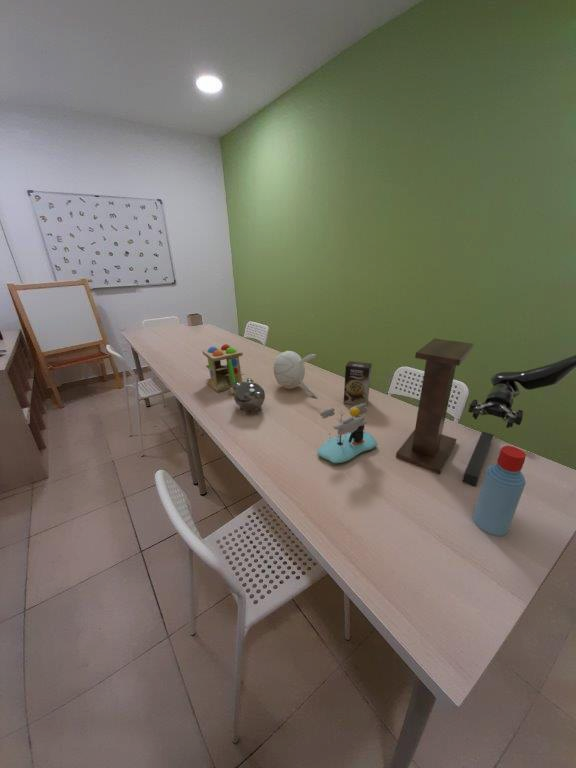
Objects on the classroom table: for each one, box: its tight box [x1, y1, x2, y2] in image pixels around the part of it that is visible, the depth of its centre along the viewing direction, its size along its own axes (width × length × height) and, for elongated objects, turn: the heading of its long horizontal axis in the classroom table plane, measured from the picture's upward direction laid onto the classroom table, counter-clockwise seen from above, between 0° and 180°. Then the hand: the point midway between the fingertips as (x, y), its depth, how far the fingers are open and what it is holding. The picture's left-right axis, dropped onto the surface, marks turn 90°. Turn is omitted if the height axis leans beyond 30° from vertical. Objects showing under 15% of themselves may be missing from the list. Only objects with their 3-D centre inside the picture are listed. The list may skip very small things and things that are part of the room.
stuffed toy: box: [273, 350, 318, 399], centre depth 130 cm, size 19×14×25 cm
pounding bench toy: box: [202, 344, 247, 396], centre depth 135 cm, size 23×14×18 cm, turn 32°
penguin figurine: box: [317, 403, 378, 464], centre depth 89 cm, size 20×11×15 cm, turn 119°
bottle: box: [472, 462, 526, 537], centre depth 62 cm, size 7×7×18 cm
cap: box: [496, 445, 527, 472], centre depth 59 cm, size 4×4×3 cm
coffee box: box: [343, 360, 373, 406], centre depth 117 cm, size 9×6×16 cm
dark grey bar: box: [461, 431, 494, 487], centre depth 85 cm, size 3×24×3 cm, turn 140°
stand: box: [395, 338, 475, 475], centre depth 84 cm, size 12×18×32 cm, turn 140°
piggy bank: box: [233, 377, 266, 416], centre depth 115 cm, size 11×15×12 cm
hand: (491, 420), depth 92 cm, fingers open, 8 cm apart
